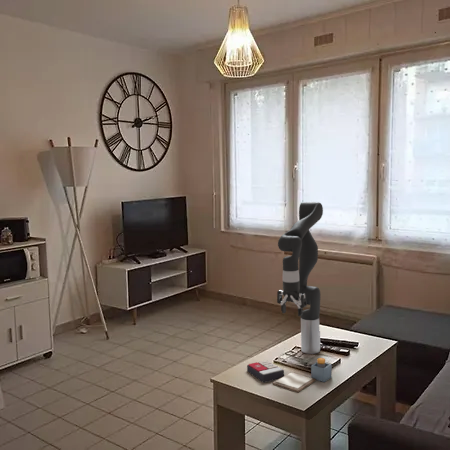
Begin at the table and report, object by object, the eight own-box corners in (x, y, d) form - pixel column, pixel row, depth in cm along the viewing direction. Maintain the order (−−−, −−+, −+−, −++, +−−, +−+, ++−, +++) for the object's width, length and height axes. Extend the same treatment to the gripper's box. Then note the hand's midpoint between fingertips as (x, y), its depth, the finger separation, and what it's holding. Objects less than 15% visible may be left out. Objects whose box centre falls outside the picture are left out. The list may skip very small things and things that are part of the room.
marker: (319, 374, 222) (320, 357, 221) (326, 376, 220) (326, 359, 219) (315, 376, 220) (315, 359, 219) (322, 379, 217) (322, 361, 217)
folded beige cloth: (290, 373, 226) (290, 370, 226) (315, 380, 217) (315, 378, 217) (272, 384, 215) (272, 381, 215) (298, 392, 207) (298, 389, 207)
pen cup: (318, 373, 224) (318, 361, 224) (331, 377, 220) (331, 364, 219) (311, 378, 219) (311, 365, 219) (324, 382, 215) (324, 369, 215)
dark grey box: (267, 359, 235) (284, 368, 221) (267, 367, 235) (284, 378, 222) (246, 363, 230) (262, 373, 217) (247, 372, 231) (263, 383, 217)
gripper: (309, 279, 223) (309, 314, 226) (282, 276, 233) (283, 309, 235) (300, 283, 218) (301, 319, 220) (273, 279, 227) (274, 314, 229)
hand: (291, 314), depth 227 cm, fingers open, 8 cm apart
